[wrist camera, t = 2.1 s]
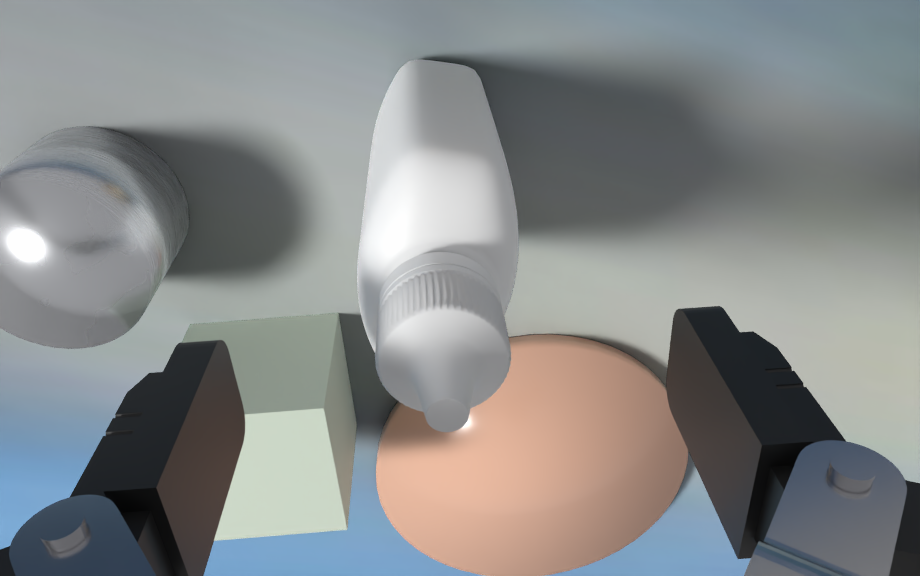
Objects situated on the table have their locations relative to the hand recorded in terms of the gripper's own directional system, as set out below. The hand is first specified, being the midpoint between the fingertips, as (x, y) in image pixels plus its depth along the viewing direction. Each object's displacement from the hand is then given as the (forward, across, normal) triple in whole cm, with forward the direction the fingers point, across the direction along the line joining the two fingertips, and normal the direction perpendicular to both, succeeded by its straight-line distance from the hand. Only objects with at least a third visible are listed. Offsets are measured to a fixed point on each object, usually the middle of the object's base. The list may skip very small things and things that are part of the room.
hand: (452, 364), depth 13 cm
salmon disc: (+10, -3, +13) cm, 17 cm away
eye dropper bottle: (+11, 0, 0) cm, 11 cm away
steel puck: (+10, +10, +1) cm, 15 cm away
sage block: (+10, +6, +8) cm, 14 cm away
